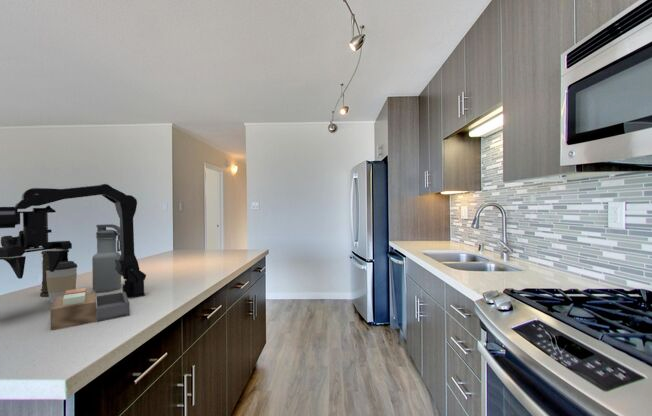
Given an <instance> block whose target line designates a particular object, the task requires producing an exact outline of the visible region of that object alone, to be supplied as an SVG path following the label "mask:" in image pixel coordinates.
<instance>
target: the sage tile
mask: <svg viewBox="0 0 652 416" xmlns="http://www.w3.org/2000/svg"><path fill="white" fill-rule="evenodd" d="M86 292H87V291H86ZM86 292H83V293H76V294H69V295H64V298H63V306H65V305H71V304H77V303H83V302H85V299H86Z"/></svg>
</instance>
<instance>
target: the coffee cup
mask: <svg viewBox="0 0 652 416" xmlns="http://www.w3.org/2000/svg"><path fill="white" fill-rule="evenodd" d="M77 268H78V263H75V262H74V261H73V260H68V261H62V262H59V263H58V265H57V267H56V269H55V270H54V272H50V269H49V266H47V267H46V269H45V270H46V275H47V276H46V280H47V288H48V293H49V297H48V300H49V304H50V305H53V303H54V301H55V299H56V297H58V296H64V295H65V292H66V290H73V289H77V287H76V286H77V276H78V273H77Z"/></svg>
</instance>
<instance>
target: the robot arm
mask: <svg viewBox="0 0 652 416" xmlns="http://www.w3.org/2000/svg"><path fill="white" fill-rule="evenodd" d="M92 196H93V197H95V196H102V197H104V198H105V199H107V200H108V201H109V202H111V203H113V204H114V206H115V210H116V213H117V215H118V218H119V227H120V239H121V251H120V255H121V256H120V259H119V260H115V263H116V268H115V270H117V272H118V274H119V275H121V277H122V278H123V280H124V283H123V284H122V292H126V295H127V298H128V299H130V298H137V297H144V296H145V295H146V293H145V280H146V277H147V274H146V273H144V272H143V271H141V269H140V265H139V261H138V259H137V256H136V254H135V237H134V236H135V233H134V231H135V230H134V228H135V227H134V217H135V214H136V212H137V211H136V210H137V205H138V200H137V198H136V197H134V196H133V195H129V194H126V193H124V192H122V191H120V190H119V189H116V188H115V187H114V188H113V187H112V186H111V185H109V184H108V183H107V184H106V183H102V184H97V185H88V186H78V187H69V188H67V187H66V188H50V187H49V188H48V187H47V188H46V187H33V188H29V189H27V190H25V191H24V192H23V193H22V195H21V200H19V202H18V203H16V204H15V205H14V206H0V229H15V228H16V226H18V225H21V214H22V230H19V232H18V235H17V236H12V235H4V236H2V237H0V245H1V247H0V260H3V261H5V262H7V264H9V266H10V267H11V269H12V271H13V272H14V274H15V276H16V278H17V279H19V280H21V279H23V276H24V272H25V265H26V256H25V255H24V254H26V253H33V252H39V251H41V252H42V251H46V253H47V254H48V255H49V269H50V272H54V270H55V269H56V267H57V265H58V263H59V262H60V260H61V259H62V257H63V256H64V254H65V253H66V252H68V250H71V249H73V246H72V244H73V243H72V242H71V241H70V240H55V241H49V233H50V234H51V233H52V229H49V223H48V222H49V219H48V218H49V217H48V216H49V215H48V214H49V213H50V214H51V213H56V209H54V208H52V207H51V205H49V204H50V203H51V204H52V203H55V202H58V201H62V200H63V201H64V200H68V199H69V200H70V199H77V198H84V197H92ZM47 204H48V205H47ZM43 205H46V206H45V207H38V206H43ZM30 207H33V208H32V209H31V211H25V209H28V208H30ZM18 210H24V211H18ZM65 249H68V250H65ZM47 250H49V251H47ZM68 253H69V252H68Z"/></svg>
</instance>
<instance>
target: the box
mask: <svg viewBox="0 0 652 416" xmlns="http://www.w3.org/2000/svg"><path fill="white" fill-rule="evenodd" d="M130 314H131V313H130V301H129V298H127V295H126V292H123V291H121V292H116V293H109V294H102V295H96V323H98V322H104V321H109V320H113V319H114V320H115V319H118V318H119V319H120V318H124V317H128V316H130Z"/></svg>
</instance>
